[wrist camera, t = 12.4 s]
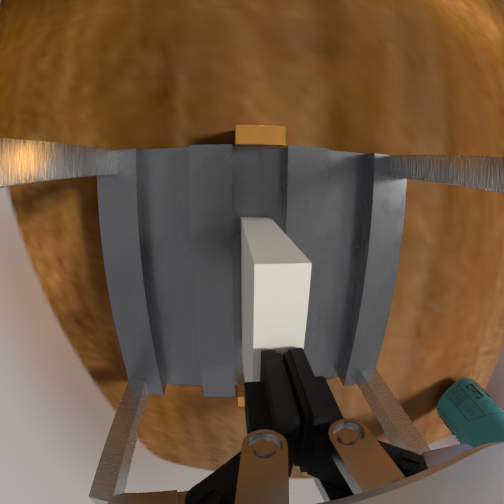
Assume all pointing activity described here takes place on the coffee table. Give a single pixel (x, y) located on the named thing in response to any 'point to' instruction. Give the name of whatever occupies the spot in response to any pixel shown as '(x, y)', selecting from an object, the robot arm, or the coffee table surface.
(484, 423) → the beverage bottle
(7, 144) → the rack
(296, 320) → the block
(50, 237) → the coffee table surface
